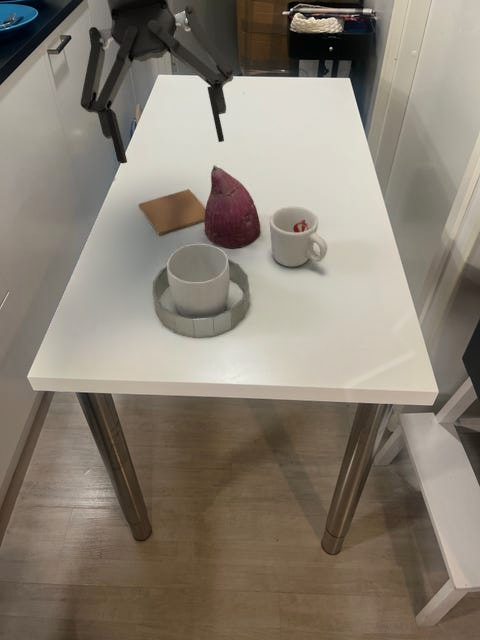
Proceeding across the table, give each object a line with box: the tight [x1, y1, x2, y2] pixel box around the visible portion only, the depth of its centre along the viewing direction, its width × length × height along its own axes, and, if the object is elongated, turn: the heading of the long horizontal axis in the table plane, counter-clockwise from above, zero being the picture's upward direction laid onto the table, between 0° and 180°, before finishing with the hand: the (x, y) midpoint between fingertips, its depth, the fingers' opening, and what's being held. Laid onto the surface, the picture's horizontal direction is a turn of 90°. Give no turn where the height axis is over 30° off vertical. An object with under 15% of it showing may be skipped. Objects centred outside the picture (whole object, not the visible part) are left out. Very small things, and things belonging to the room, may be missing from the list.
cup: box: [269, 205, 328, 267], centre depth 84 cm, size 11×8×8 cm
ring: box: [152, 258, 250, 339], centre depth 78 cm, size 15×15×4 cm
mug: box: [166, 243, 231, 318], centre depth 76 cm, size 13×9×10 cm
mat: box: [138, 188, 206, 236], centre depth 97 cm, size 11×11×1 cm
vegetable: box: [203, 164, 261, 249], centre depth 88 cm, size 10×10×15 cm
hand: (171, 151), depth 67 cm, fingers open, 13 cm apart
